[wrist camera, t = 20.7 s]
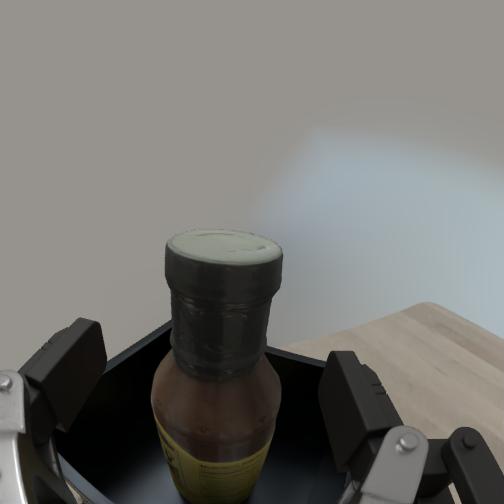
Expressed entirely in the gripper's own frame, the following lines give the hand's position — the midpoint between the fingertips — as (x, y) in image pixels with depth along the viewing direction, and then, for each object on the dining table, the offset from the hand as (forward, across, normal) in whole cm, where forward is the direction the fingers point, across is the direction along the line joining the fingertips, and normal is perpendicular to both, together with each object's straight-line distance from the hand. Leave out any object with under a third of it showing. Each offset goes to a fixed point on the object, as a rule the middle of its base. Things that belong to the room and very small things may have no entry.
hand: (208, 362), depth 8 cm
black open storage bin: (+2, 0, +17) cm, 17 cm away
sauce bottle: (+2, 0, +16) cm, 16 cm away
